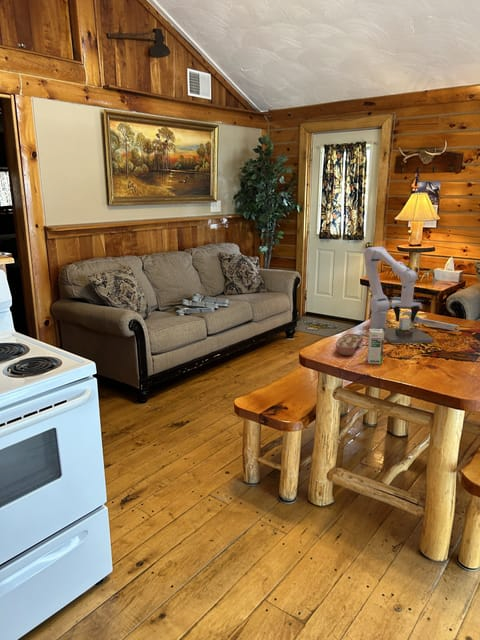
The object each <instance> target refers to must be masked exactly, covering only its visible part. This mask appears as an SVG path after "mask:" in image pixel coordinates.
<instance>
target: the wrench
mask: <svg viewBox="0 0 480 640" xmlns="http://www.w3.org/2000/svg"><path fill="white" fill-rule="evenodd" d="M401 316H408V318H409V319H410V327H415V325H418V324H419V325H421V324H422V325H425V326H426V325H427V326H431V327H434V328H439V329H443V330H449V331H452V330H453V331H454V332H459V331H460V329H461V327H460V326H459V325H457V324H452V323H449V322H448V323H447V322H442V321H436V320H432V319H427V318H422V317H420V316H418V315H416V316H415V319H414V321H411V311H410V310H406V311H403V312H402V313H401ZM456 327H457V329H455V328H456Z"/></svg>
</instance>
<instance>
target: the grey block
mask: <svg viewBox="0 0 480 640" xmlns="http://www.w3.org/2000/svg"><path fill="white" fill-rule="evenodd" d="M410 327H411V325H410V319H409V317H399V322H398V328H399V329H401V330H410Z"/></svg>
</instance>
